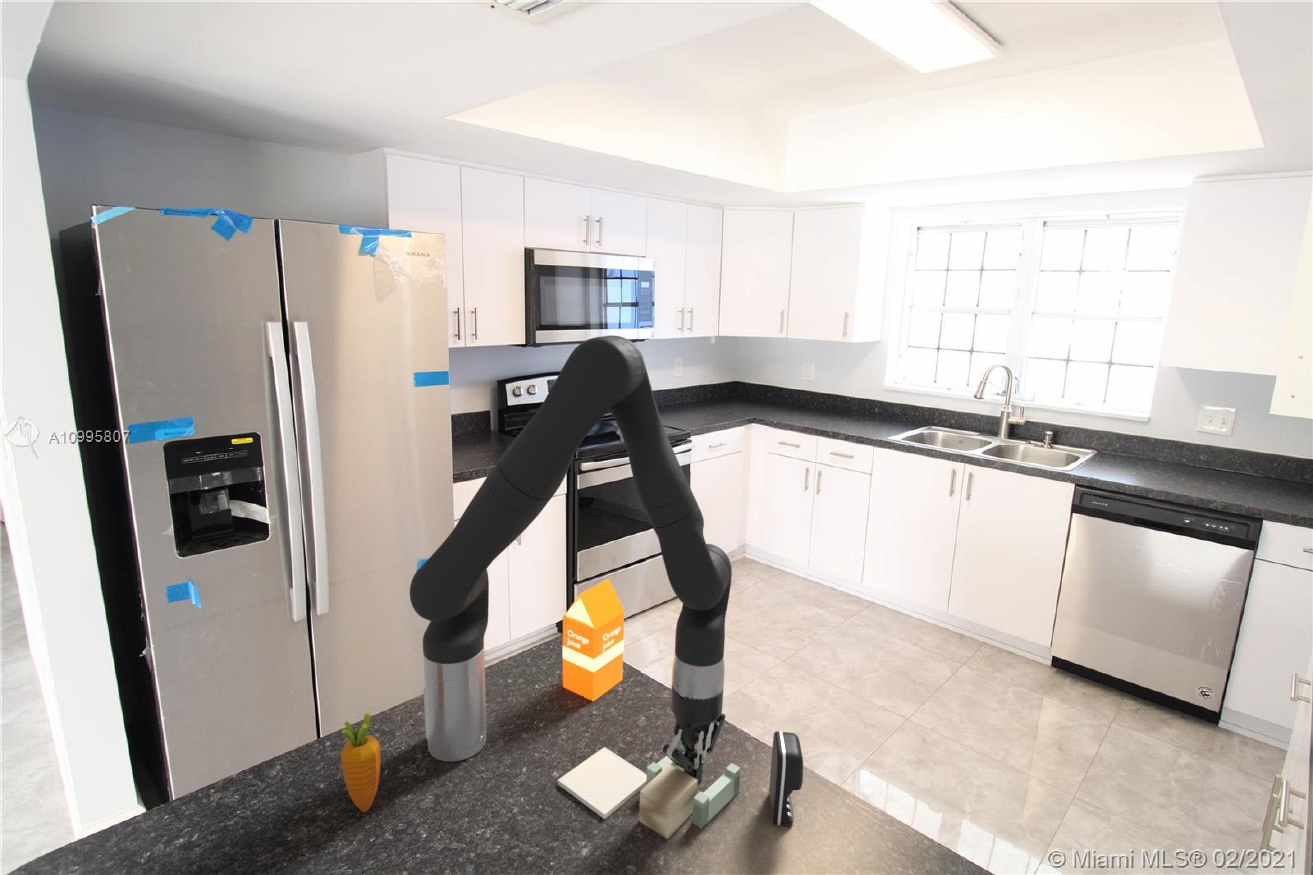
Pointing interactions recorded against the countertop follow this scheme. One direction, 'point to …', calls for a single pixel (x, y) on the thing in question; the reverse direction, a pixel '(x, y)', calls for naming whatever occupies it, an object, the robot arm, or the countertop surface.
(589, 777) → the plate
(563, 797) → the countertop surface
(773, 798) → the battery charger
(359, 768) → the carrot
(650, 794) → the block
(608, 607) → the orange juice
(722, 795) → the rails
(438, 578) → the robot arm
